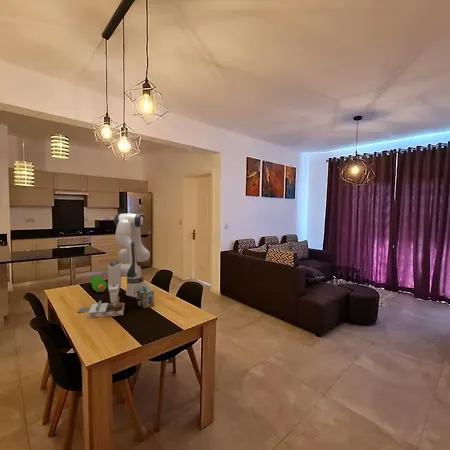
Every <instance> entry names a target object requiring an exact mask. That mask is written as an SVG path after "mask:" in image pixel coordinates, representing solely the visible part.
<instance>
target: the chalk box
mask: <svg viewBox="0 0 450 450" xmlns="http://www.w3.org/2000/svg"><path fill="white" fill-rule="evenodd" d="M144 288H145V287H143V290H140V291H137V292H138V297H137V305H138V306H139V307H140V308H142V309H147V308H151V307H153V306H155V303H154V302H155V301H154V300H155V298H154V297H155V296H154V295H155V294H154V290H153V289H152V290H153V291H152V290H150V289H151V288H150V289H146V288H145V289H144Z"/></svg>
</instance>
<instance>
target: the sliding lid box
mask: <svg viewBox="0 0 450 450" xmlns="http://www.w3.org/2000/svg"><path fill="white" fill-rule="evenodd" d="M124 311H125V302H119V308H116V309H112V308H111V303H108V306H107V309H106V312H100V313H89V311H87V319H95V318H106V317H117V316H118V317H119V316H124Z"/></svg>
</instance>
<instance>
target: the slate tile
mask: <svg viewBox="0 0 450 450" xmlns="http://www.w3.org/2000/svg"><path fill="white" fill-rule="evenodd" d="M90 308H91V306H90V307H80V308H79V309H78V311H77V313H78V314H82V313H85V312H89V310H90Z"/></svg>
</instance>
